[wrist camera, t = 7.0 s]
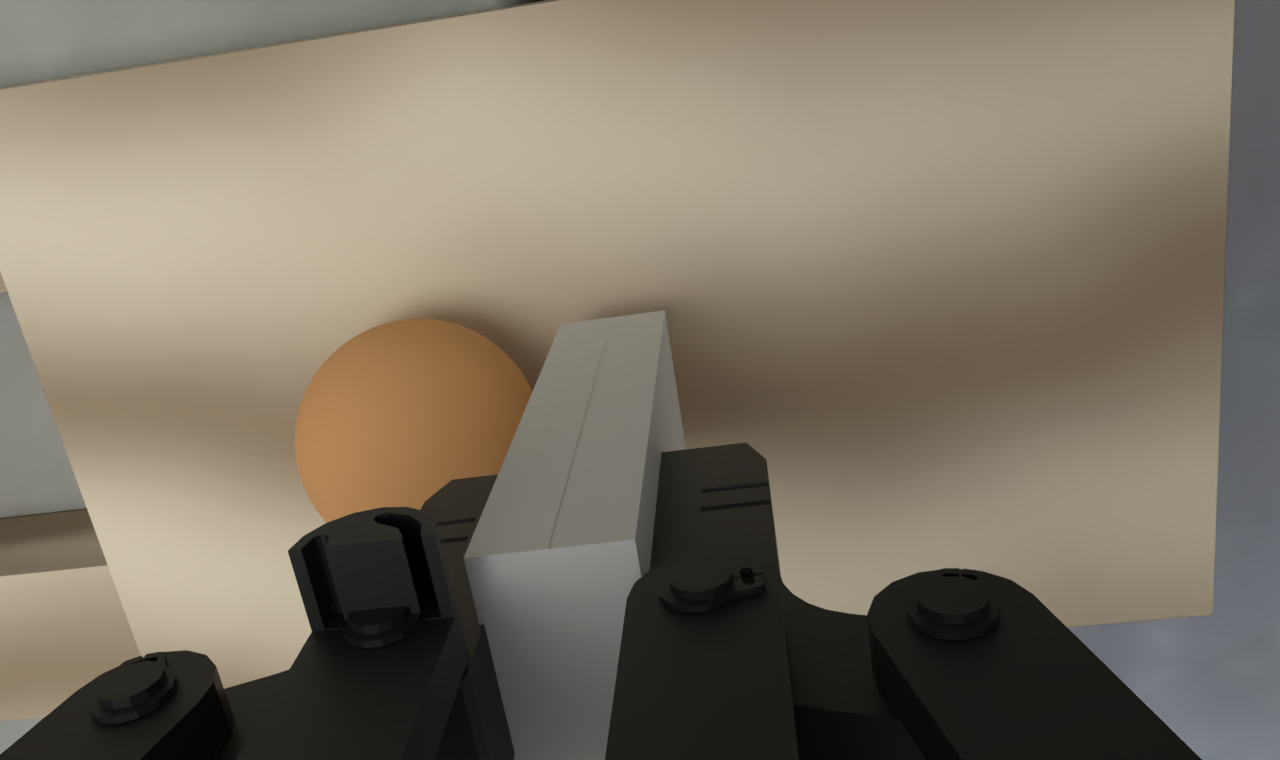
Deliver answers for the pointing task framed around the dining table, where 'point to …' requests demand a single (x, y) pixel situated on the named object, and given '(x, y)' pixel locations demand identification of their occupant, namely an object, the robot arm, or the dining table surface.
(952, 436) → the board
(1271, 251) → the dining table surface
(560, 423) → the robot arm
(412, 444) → the ball
